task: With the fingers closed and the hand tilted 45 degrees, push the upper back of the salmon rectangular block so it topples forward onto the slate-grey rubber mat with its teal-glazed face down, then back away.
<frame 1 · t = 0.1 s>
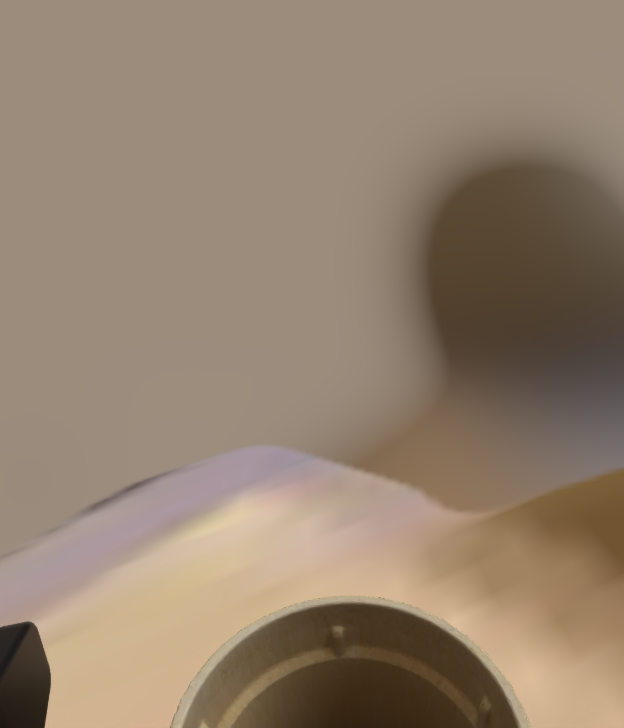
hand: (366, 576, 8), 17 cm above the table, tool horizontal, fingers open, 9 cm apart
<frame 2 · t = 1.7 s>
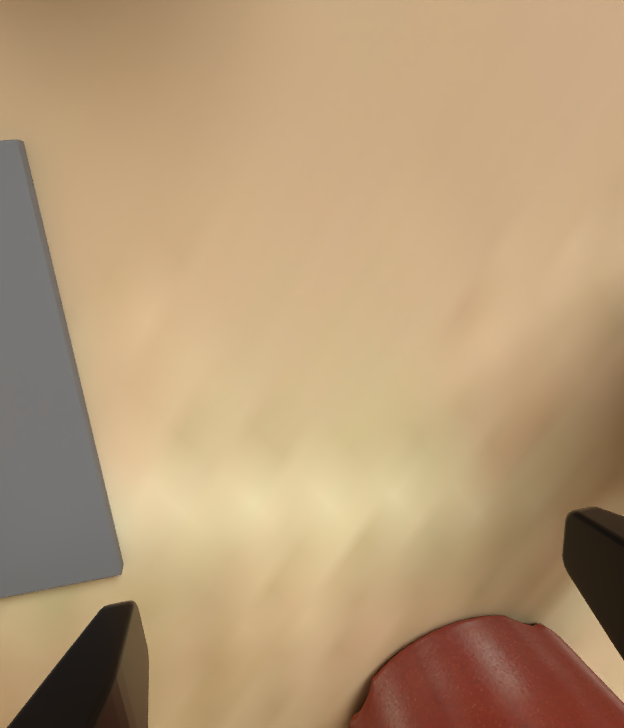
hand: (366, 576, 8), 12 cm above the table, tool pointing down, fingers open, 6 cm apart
flower pot 2: (463, 705, 27), on the table
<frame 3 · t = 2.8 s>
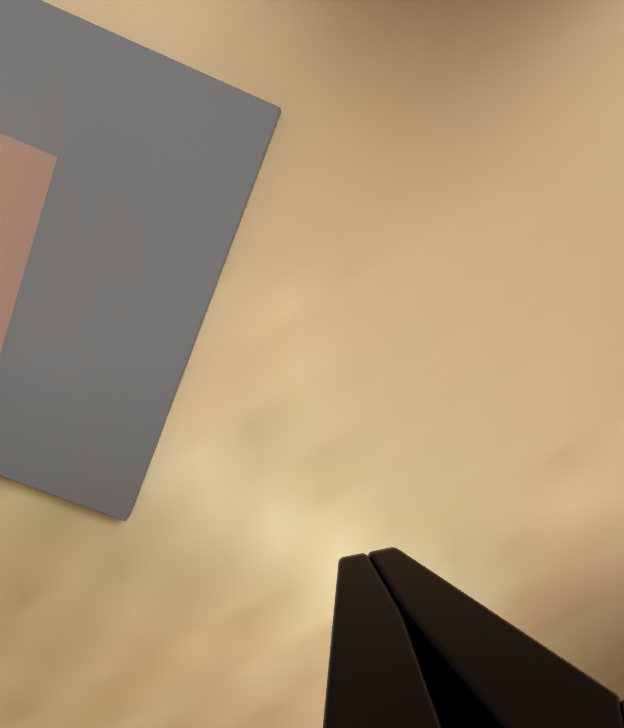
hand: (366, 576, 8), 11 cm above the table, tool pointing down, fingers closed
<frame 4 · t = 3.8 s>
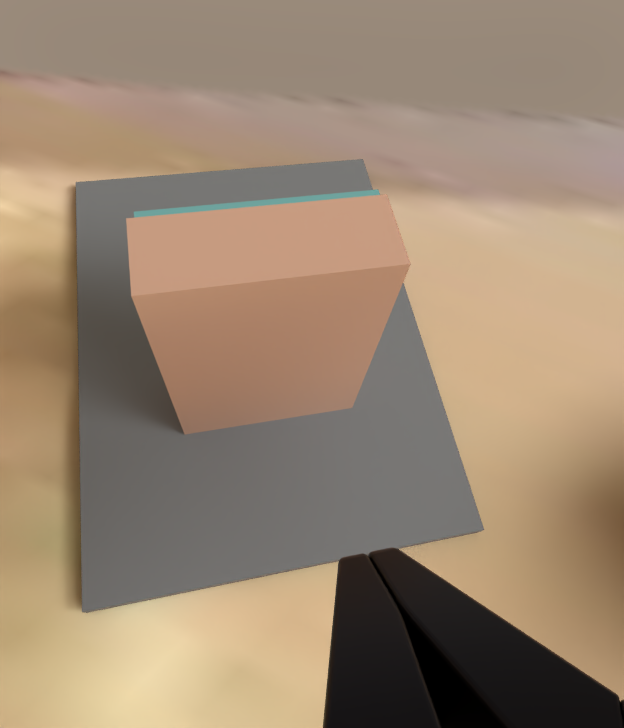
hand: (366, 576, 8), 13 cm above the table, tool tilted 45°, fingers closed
mat: (254, 340, 25), on the table
salmon rectangular block: (265, 394, 23), point 1 cm above the table, touching mat
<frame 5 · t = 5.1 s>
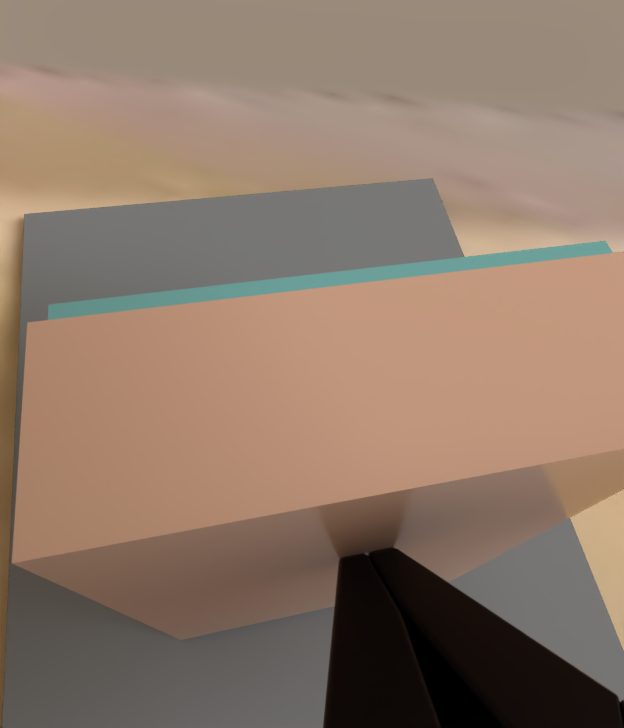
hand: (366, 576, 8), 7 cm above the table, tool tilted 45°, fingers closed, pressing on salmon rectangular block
mat: (289, 459, 16), on the table
salmon rectangular block: (312, 560, 14), point 1 cm above the table, touching gripper, mat
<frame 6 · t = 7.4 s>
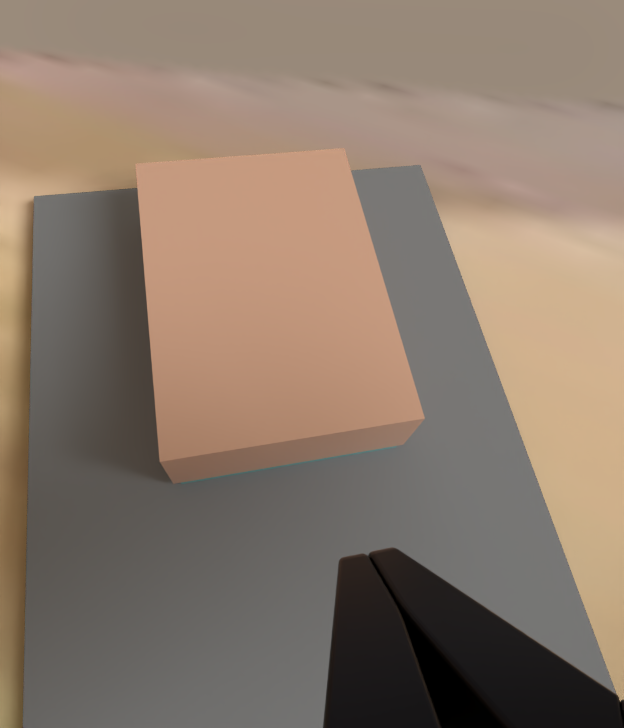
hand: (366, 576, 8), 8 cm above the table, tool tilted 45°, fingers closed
mat: (281, 426, 17), on the table
salmon rectangular block: (294, 452, 15), point 2 cm above the table, tilted 90°, touching mat
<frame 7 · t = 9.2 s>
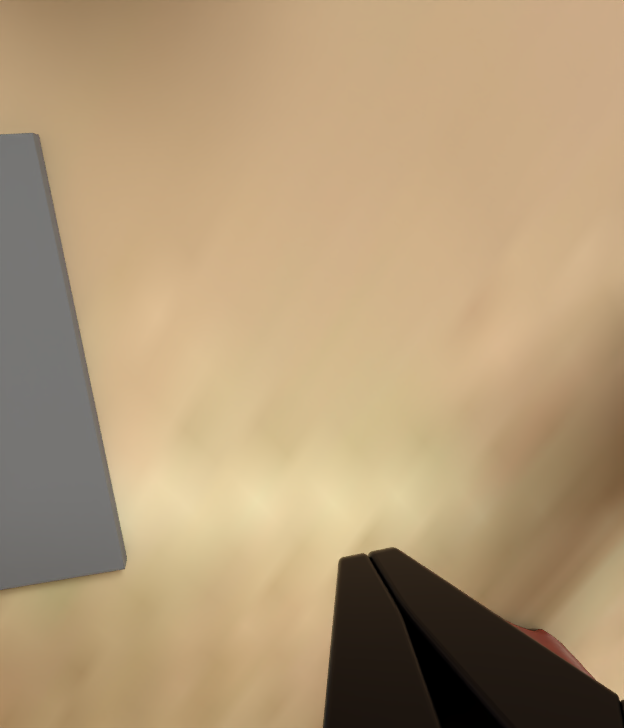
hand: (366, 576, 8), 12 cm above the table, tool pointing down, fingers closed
flower pot 2: (462, 709, 27), on the table
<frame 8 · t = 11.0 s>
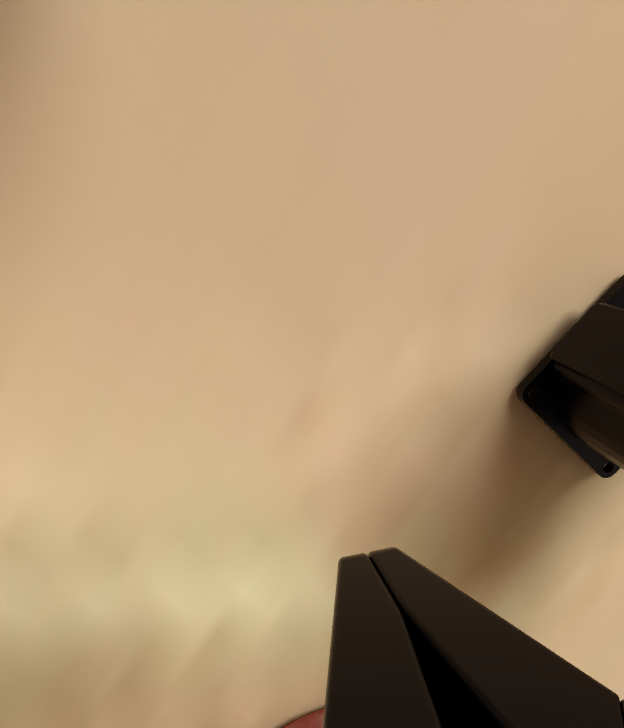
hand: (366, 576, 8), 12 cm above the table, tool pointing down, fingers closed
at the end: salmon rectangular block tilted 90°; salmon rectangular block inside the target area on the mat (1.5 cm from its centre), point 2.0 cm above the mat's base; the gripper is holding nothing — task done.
